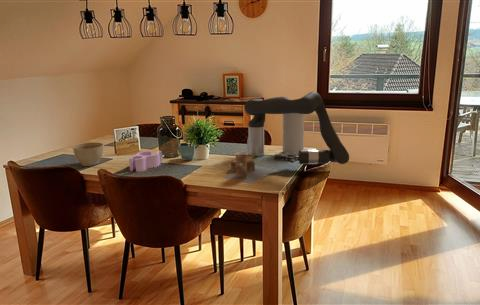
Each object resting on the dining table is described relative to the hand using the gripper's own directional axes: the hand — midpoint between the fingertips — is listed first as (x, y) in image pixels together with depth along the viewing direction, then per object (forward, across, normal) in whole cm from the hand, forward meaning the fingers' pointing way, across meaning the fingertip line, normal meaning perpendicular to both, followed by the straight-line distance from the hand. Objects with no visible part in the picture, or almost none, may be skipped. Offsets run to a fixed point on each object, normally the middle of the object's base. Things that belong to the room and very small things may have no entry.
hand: (274, 157), depth 201 cm
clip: (+70, +12, -8) cm, 72 cm away
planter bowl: (+104, +18, -8) cm, 105 cm away
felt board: (+12, -5, -7) cm, 15 cm away
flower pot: (+49, +26, -8) cm, 56 cm away
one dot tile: (+17, -11, -7) cm, 21 cm away
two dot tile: (+10, +1, -4) cm, 11 cm away
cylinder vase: (-13, +38, -8) cm, 42 cm away
